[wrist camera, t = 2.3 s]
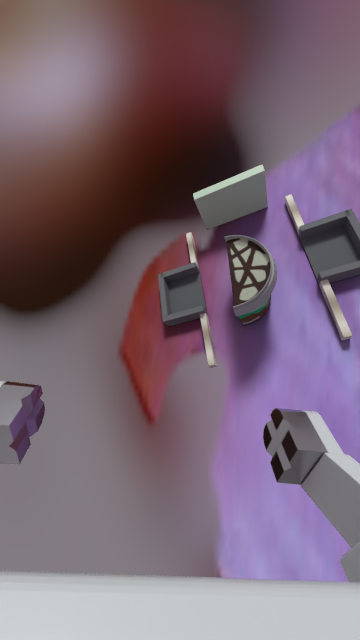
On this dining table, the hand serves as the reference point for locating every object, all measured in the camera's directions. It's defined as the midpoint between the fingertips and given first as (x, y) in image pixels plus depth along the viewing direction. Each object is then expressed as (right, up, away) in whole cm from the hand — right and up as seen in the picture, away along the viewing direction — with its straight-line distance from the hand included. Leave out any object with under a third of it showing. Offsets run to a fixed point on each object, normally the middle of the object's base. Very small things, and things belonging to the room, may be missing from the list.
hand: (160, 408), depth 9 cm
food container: (+14, +7, +33) cm, 36 cm away
